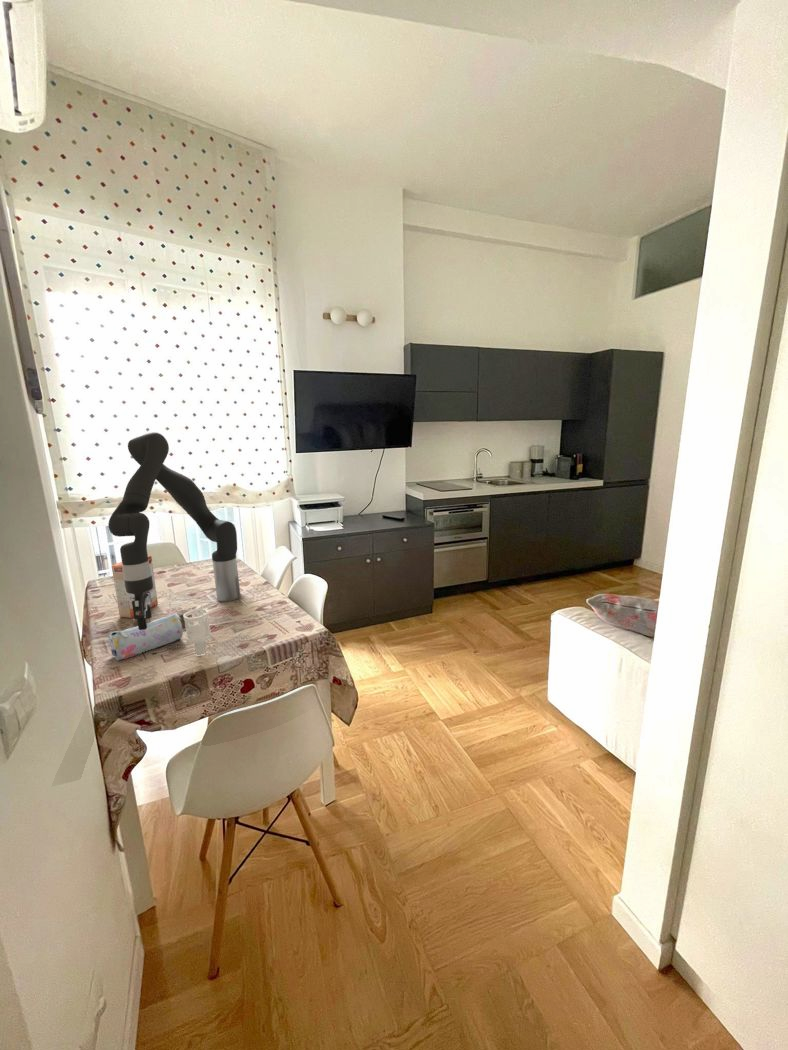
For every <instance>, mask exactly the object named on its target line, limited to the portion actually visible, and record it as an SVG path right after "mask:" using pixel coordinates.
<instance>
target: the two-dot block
mask: <svg viewBox="0 0 788 1050" xmlns="http://www.w3.org/2000/svg"><path fill="white" fill-rule="evenodd" d="M191 610H192V609H191V608H190V609H182V610H177V611H176V614H177V615H178V616H179V617H180V618H181V620H180V619H179V620H180V622H181V624H182V628H183V627H185V620H184V617H183V615H184V614H185V613H186V612H188V611H191ZM192 615H193V614H191V615H189V616H187V617H188V618H193V616H192Z"/></svg>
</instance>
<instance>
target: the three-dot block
mask: <svg viewBox="0 0 788 1050" xmlns="http://www.w3.org/2000/svg"><path fill="white" fill-rule="evenodd" d="M149 622H152V621H151V618H149V619H146V623H149ZM132 625H133V627H137V626H138V622H137V619H136V620H135V619H134V618H132Z"/></svg>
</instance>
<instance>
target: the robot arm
mask: <svg viewBox="0 0 788 1050" xmlns="http://www.w3.org/2000/svg"><path fill="white" fill-rule="evenodd" d="M127 450H128V452H129V454H130V456H131V458H133V460H134V461H135V462H136V463H137V464H138V465H139V467H138V468H137V470H136V471H135V472H134V474H132V476H131V478H130V479H129V480H128V482H127V484H126V487H125V490H124V494H123V497H122V500H121V501H120V502H119V504H118V505H117V507H116V508H115V509H114V510H113V512H112V513H111V515H110V517H109V520H108V525H107V527H108V531H109V532H110V534H111V535H112V536H115V537H134V540H133V541H131V542H127V543H124V544H122V545H121V546H120V550H119V552H120V558H121V562H122V565H123V576H124V582H125V588H126V592H127V593H129V594H134V595H135V596H134V597H135V598H133V601H132V606H133V613H134V617H133V619H135V620H136V619H137V622H138V628H139V630H144V629H146V628H147V623H146V619H149V618H150V619H152V610H151V609H152V607H151V608H150V606H151V602H152V600H151V595H150V590H151V589H152V588H153V580H152V573H151V567H150V564H149V560H148V556H149V555H148V548H147V547H148V536H149V532H150V531H149V530H150V519H149V518H148V516H147V515H146V514H145V513H144V511H146V510H147V509H148V506H149V501H150V499H151V494H152V491H153V488H154V484H155V482H156V481H157V483H159V485H160V486H162V487H163V488H164V489H165V491H167V493H168V494H169V495H170V496H171V497H172V498H173V500H174V502H176V503H177V504H178V505H179V507H181V509H183V510H184V511H185V512H186V513H187V515H188V516H189V517H190V518H192V520H193V521H194V522H195V523H196V525H197V526H198V528H199V529H200V531H201V532H202V533H203V534H204V536H205V537H206V539H208V540H209V541H211V542H214V543H216V550H214V551H213V552H212V554H211V559H212V561H211V562H212V568H213V576H214V584H215V593H216V594H215V595H216V599H217V601H219V602H224V601H225V602H232V601H235V600H238V599H241V598H242V597H241V588H240V580H239V569H238V559H237V552H238V536H237V530H236V526H235V524H234V523H233V522H231V521H229V520H224V519H219V518H217V516H215V514H213V513H212V511H210V509H209V507H208V505H207V502H206V498H205V495H204V494H203V492H202V490H201V489H200V488H199V487H198V486H197V484H196V483H195V482H194V481H193V480H192V479H191V478H189V477H187V476H186V475H184V474H182V473H180V472H177V471H176V470H173V469H171V468H169V467H168V466H166V465H165V464H164V463H165V461H166V459H167V456H168V455H169V451H170V447H169V442H168V440H167V438H166V437H165V436H164V435H163V434H162V433H159V432H157V431H156V432H155V431H154V432H148V433H145V434H142V435H140V436H136V437H135V438H132V439H130V440H129V441H128V442H127ZM143 607H144V608H143ZM139 612H141V613H140V614H138V613H139Z"/></svg>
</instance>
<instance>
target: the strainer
mask: <svg viewBox="0 0 788 1050" xmlns="http://www.w3.org/2000/svg"><path fill="white" fill-rule="evenodd" d="M196 613H197V616H196V617H195V616H194V617H192V618H188V617H187V616H189V615H191V614H192V615H193V614H196ZM209 614H210V613H209V610H208V609H206V608H203V606H202V605H197V606H196V607H195V608H194V609H191V611H188V612H186V613H185V614H184V615H183V617H184V620H185V626H184V627H185V632H186V642H187V643H189V644H194V648H195V649H194V651H195V655H196V654H197V655H201V654H204V653H206V652H207V646H206V642H207V641H208V640H210V639H211V638H212V632H211V625H210V618H209ZM194 622H197V623H198V624H194ZM206 654H207V653H206Z"/></svg>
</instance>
